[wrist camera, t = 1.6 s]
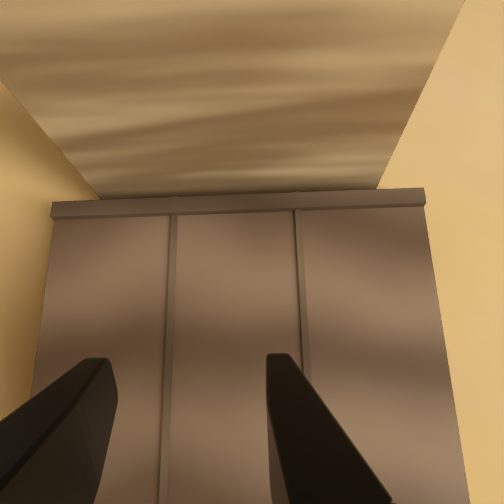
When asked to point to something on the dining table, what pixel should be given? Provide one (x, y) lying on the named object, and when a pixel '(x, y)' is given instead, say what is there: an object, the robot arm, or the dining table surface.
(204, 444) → the wooden panel
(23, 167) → the dining table surface
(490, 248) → the dining table surface
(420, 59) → the plank
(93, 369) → the robot arm
